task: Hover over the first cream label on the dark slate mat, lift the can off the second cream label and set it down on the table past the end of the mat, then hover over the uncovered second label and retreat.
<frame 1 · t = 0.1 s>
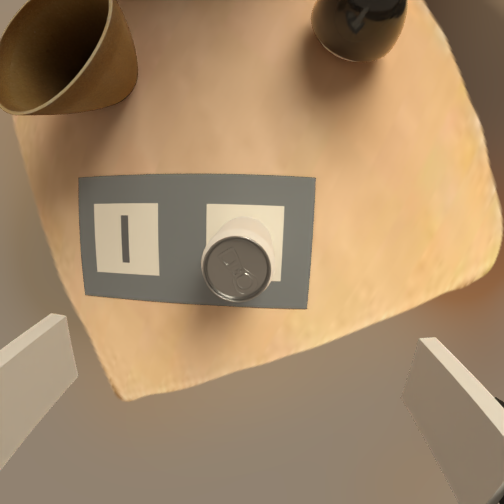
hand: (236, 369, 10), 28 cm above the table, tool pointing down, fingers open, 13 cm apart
label panel: (186, 240, 38), on the table
pump dispenser: (346, 37, 32), on the table
plant pot: (111, 80, 34), on the table
can: (244, 242, 38), resting on label panel
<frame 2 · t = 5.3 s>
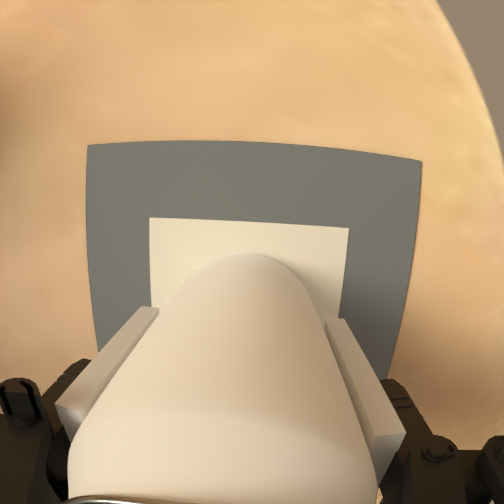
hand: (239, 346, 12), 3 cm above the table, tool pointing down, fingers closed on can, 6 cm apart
label panel: (239, 423, 17), on the table
can: (243, 316, 15), resting on label panel, touching gripper
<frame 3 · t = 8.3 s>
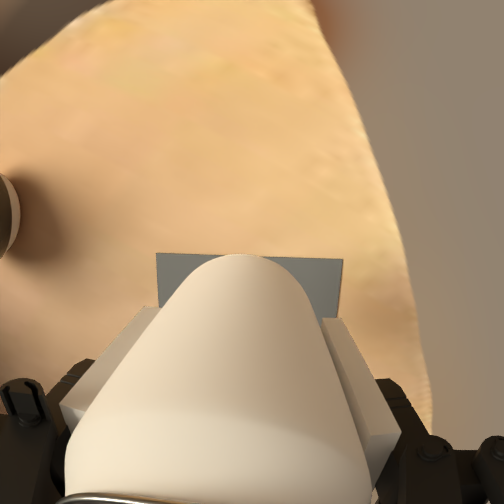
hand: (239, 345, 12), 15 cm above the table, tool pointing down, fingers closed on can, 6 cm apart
label panel: (244, 400, 30), on the table
pump dispenser: (4, 210, 27), on the table
can: (242, 316, 15), point 12 cm above the table, touching gripper
when the fingers open (4 cm above the table, at t = 11.0 s): can drops 2 cm, on the table.
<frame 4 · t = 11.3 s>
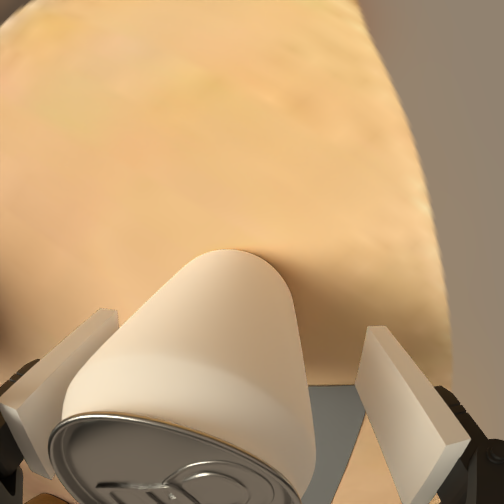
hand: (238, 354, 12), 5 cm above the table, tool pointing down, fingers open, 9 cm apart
can: (230, 307, 17), on the table
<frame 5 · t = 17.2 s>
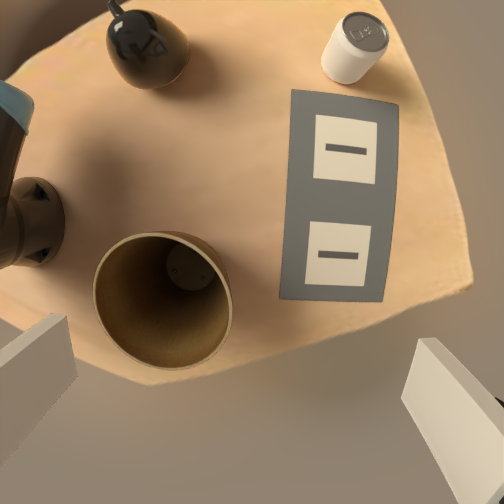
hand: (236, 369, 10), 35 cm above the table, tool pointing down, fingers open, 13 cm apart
label panel: (343, 198, 43), on the table
pump dispenser: (161, 64, 40), on the table
plant pot: (190, 266, 46), on the table
can: (341, 65, 39), on the table
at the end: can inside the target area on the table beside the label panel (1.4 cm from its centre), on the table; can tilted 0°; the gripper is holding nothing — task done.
